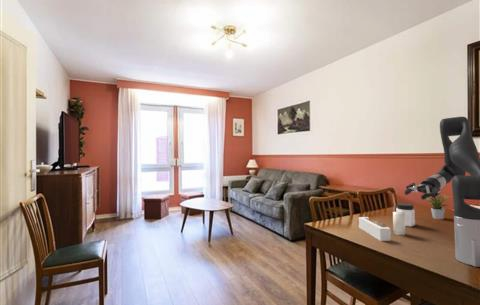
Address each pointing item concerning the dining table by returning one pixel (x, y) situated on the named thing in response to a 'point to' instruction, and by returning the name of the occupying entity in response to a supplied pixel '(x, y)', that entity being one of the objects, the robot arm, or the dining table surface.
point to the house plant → (438, 207)
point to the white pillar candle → (399, 223)
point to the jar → (407, 213)
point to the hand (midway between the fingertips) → (413, 195)
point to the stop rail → (375, 229)
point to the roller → (381, 225)
